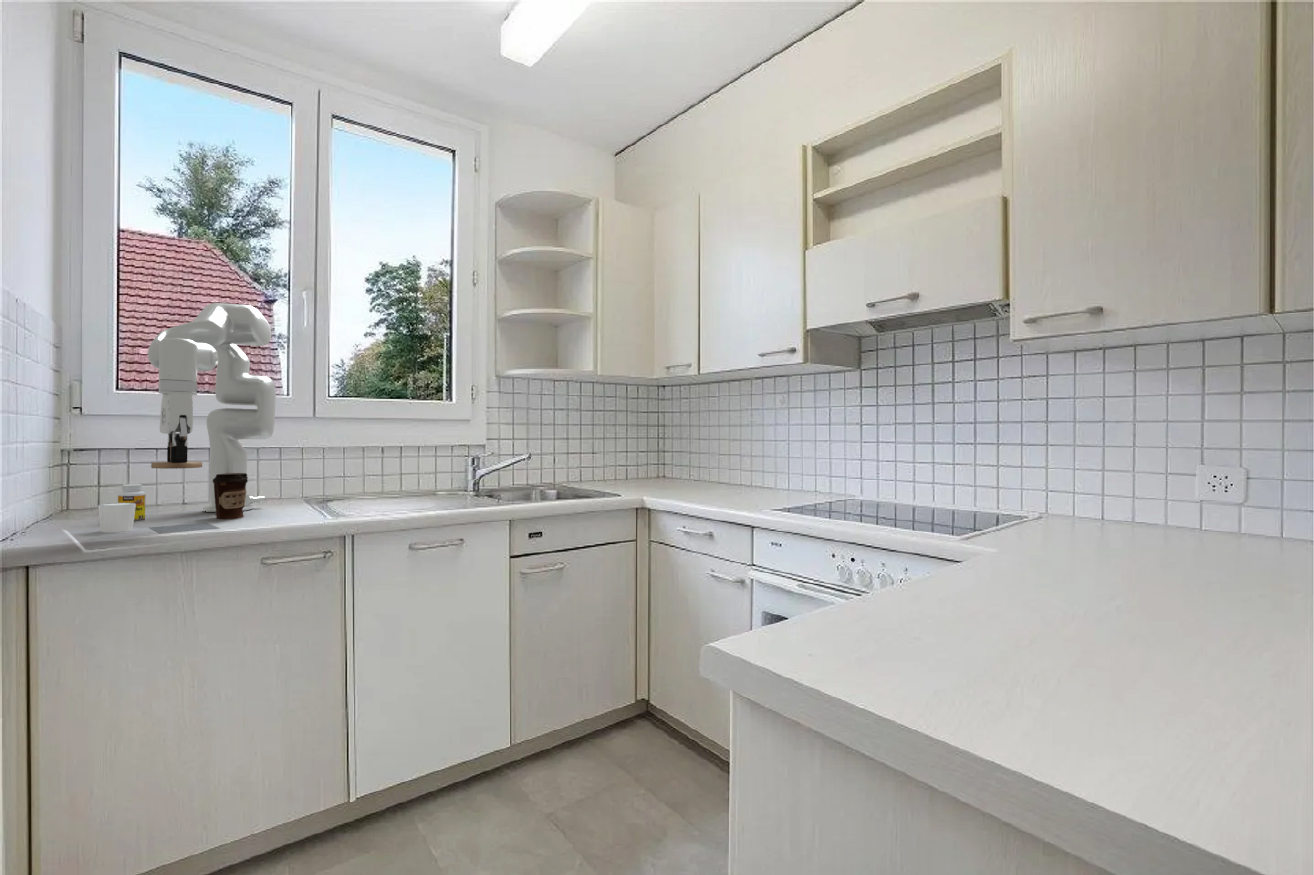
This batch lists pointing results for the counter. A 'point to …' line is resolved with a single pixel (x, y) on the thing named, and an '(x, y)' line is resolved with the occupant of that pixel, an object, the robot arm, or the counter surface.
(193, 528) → the mat
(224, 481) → the coffee cup
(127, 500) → the supplement bottle
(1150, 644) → the counter surface
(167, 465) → the lid
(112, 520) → the white cup
